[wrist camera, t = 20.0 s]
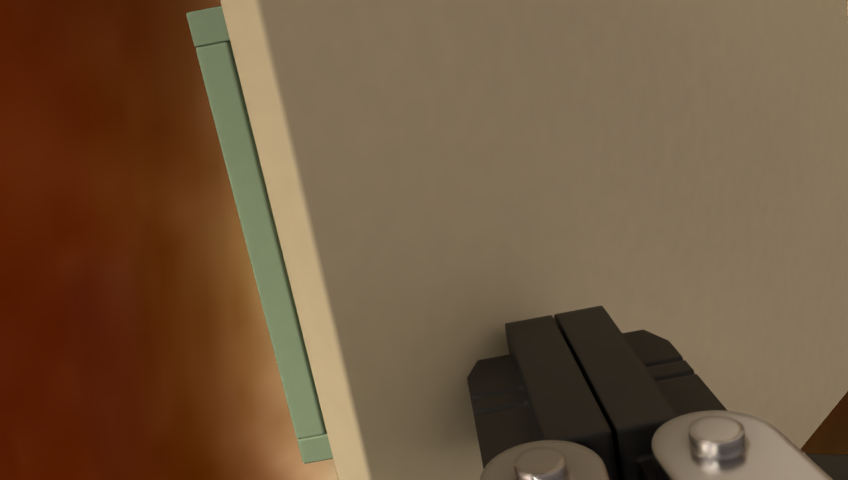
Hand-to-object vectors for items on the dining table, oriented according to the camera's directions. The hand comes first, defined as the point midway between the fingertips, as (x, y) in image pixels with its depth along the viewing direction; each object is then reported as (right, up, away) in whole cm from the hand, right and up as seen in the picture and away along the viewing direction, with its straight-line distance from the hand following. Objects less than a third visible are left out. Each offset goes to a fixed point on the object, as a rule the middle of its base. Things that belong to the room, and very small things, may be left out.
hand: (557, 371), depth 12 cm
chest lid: (+3, +2, +4) cm, 6 cm away
